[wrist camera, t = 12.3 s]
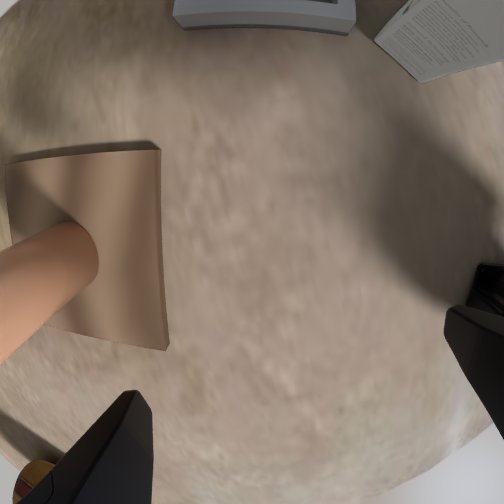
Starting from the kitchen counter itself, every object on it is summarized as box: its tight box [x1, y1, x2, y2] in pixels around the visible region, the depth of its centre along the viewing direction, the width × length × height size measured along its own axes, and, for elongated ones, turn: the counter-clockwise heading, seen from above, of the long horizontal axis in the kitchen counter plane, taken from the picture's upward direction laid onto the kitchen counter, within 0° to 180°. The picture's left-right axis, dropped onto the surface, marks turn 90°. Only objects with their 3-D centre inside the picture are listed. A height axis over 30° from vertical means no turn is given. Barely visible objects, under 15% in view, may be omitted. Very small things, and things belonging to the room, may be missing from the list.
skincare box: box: [374, 0, 504, 83], centre depth 8 cm, size 6×4×12 cm
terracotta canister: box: [0, 221, 99, 365], centre depth 14 cm, size 5×5×12 cm
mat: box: [5, 150, 170, 351], centre depth 20 cm, size 14×14×1 cm
